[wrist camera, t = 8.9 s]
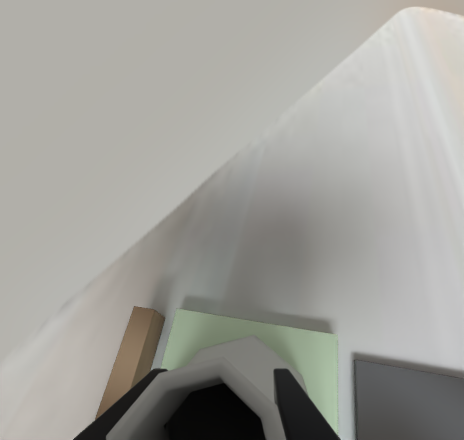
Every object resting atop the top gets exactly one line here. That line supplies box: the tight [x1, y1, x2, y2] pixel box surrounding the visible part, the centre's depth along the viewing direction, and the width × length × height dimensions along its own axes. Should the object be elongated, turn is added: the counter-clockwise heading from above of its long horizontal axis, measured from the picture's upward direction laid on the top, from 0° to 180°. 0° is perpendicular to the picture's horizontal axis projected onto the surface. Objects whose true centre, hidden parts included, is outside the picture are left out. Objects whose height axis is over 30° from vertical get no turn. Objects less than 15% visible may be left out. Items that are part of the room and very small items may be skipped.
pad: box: [160, 309, 338, 435], centre depth 14 cm, size 9×9×1 cm
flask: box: [106, 335, 309, 440], centre depth 9 cm, size 7×7×10 cm
